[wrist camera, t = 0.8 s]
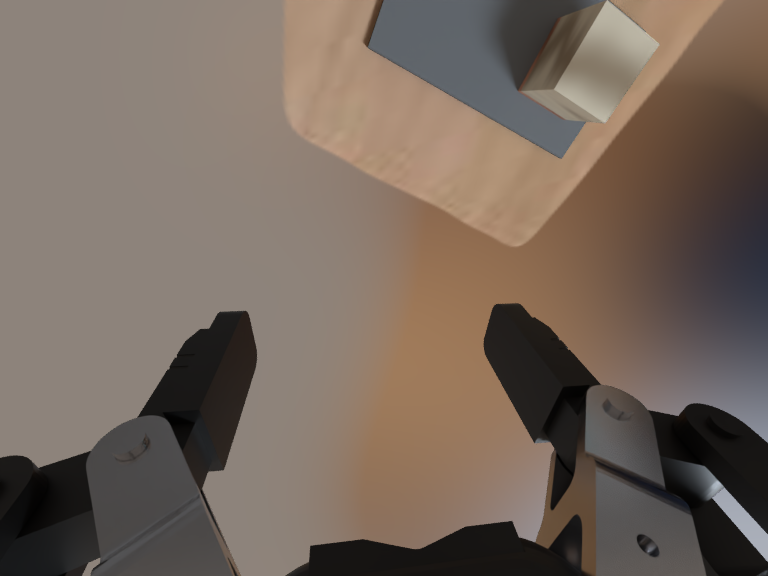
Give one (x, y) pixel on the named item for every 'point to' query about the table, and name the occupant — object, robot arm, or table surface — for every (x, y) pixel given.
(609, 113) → the birch cube
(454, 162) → the table surface
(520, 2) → the slate mat
